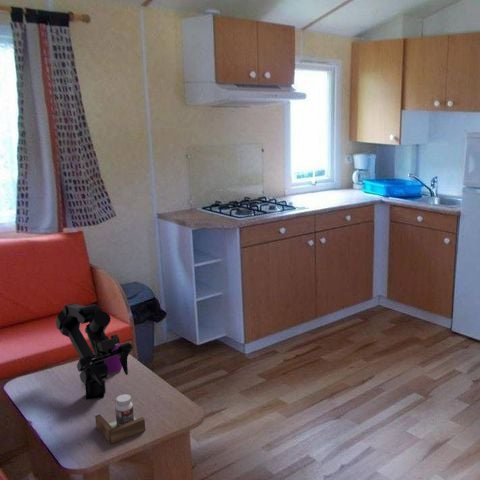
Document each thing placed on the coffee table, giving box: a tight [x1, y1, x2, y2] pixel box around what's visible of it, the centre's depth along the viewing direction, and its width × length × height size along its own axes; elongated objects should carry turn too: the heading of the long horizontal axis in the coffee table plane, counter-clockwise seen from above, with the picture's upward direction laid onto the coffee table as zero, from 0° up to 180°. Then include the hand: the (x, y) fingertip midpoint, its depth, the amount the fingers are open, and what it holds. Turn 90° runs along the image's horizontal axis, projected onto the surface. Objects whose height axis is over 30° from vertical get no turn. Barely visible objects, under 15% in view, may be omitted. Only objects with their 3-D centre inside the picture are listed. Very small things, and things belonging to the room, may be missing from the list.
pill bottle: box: [114, 393, 135, 427], centre depth 172 cm, size 6×6×10 cm
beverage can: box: [102, 343, 123, 375], centre depth 210 cm, size 8×8×12 cm
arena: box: [94, 414, 146, 445], centre depth 172 cm, size 12×12×4 cm
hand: (114, 379), depth 177 cm, fingers open, 9 cm apart
